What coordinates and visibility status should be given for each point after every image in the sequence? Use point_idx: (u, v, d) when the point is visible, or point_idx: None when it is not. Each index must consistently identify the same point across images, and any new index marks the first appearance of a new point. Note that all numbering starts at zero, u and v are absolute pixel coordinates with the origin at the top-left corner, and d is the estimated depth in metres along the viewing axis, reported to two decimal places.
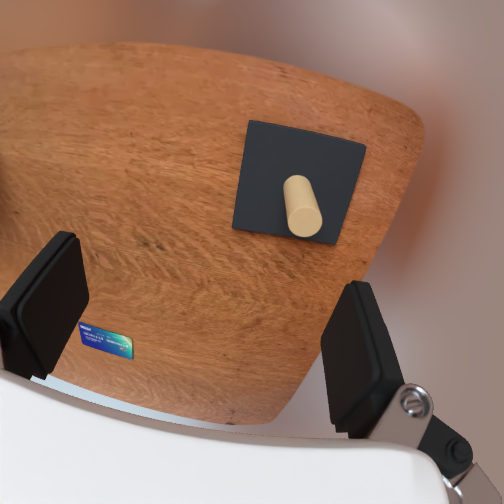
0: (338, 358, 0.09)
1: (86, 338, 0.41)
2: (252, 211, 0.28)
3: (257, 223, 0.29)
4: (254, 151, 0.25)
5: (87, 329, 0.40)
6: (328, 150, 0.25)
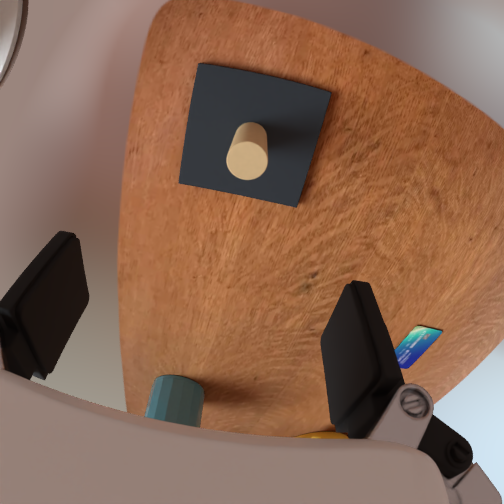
0: (338, 358, 0.09)
1: (402, 363, 0.39)
2: (278, 185, 0.25)
3: (293, 181, 0.25)
4: (208, 179, 0.25)
5: None
6: (205, 104, 0.21)
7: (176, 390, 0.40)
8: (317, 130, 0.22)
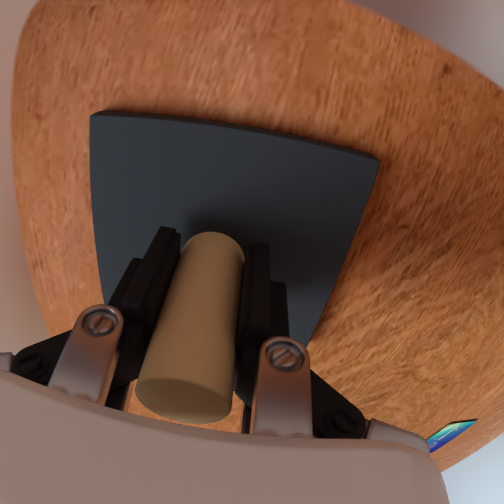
0: None
1: None
2: None
3: (298, 322, 0.14)
4: None
5: None
6: (116, 200, 0.11)
7: None
8: (347, 240, 0.11)
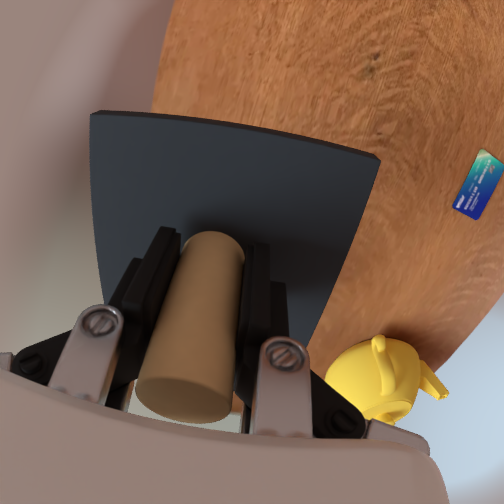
0: None
1: (472, 210, 0.32)
2: None
3: (298, 322, 0.14)
4: None
5: (461, 200, 0.31)
6: (116, 199, 0.11)
7: None
8: (347, 239, 0.11)
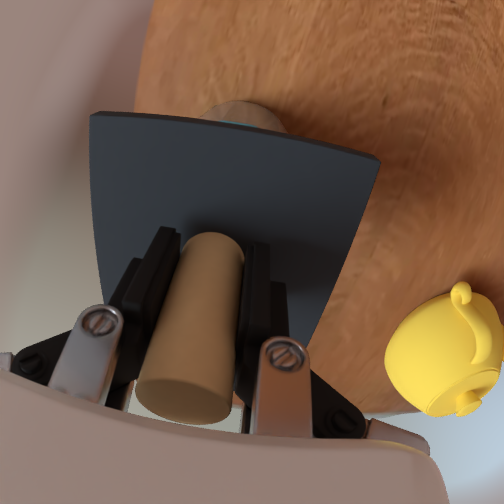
0: None
1: None
2: None
3: (298, 323, 0.14)
4: None
5: None
6: (116, 200, 0.11)
7: (244, 105, 0.20)
8: (347, 240, 0.11)
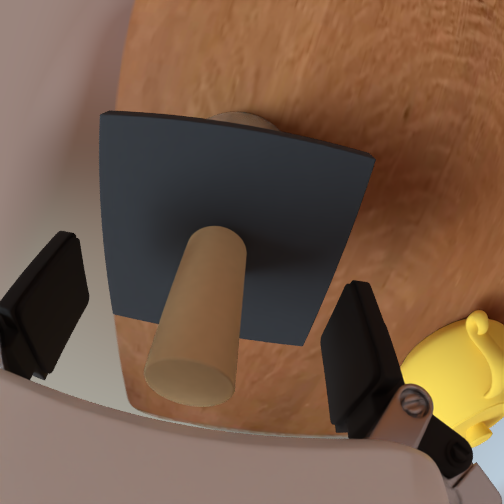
0: (338, 358, 0.09)
1: None
2: (271, 320, 0.15)
3: (297, 314, 0.14)
4: (156, 312, 0.15)
5: None
6: (124, 196, 0.11)
7: (242, 118, 0.16)
8: (344, 234, 0.12)
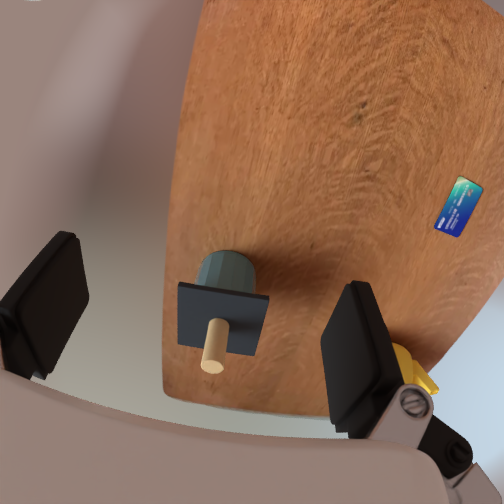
0: (338, 358, 0.09)
1: (452, 228, 0.38)
2: (240, 346, 0.38)
3: (249, 344, 0.38)
4: (196, 343, 0.38)
5: (442, 221, 0.38)
6: (187, 308, 0.35)
7: (228, 261, 0.40)
8: (261, 320, 0.36)
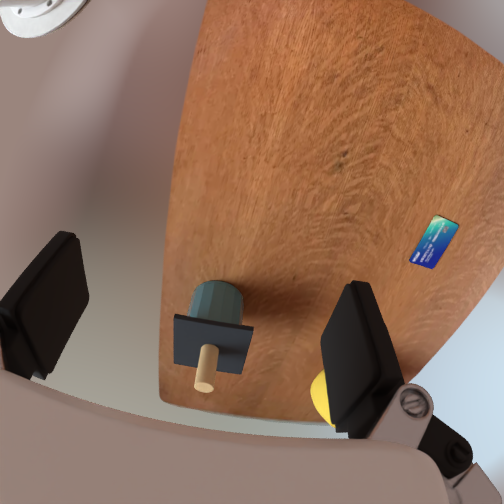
0: (338, 358, 0.09)
1: (427, 261, 0.43)
2: (228, 366, 0.43)
3: (237, 365, 0.43)
4: (190, 363, 0.43)
5: (417, 255, 0.43)
6: (181, 335, 0.39)
7: (218, 292, 0.45)
8: (247, 346, 0.40)
